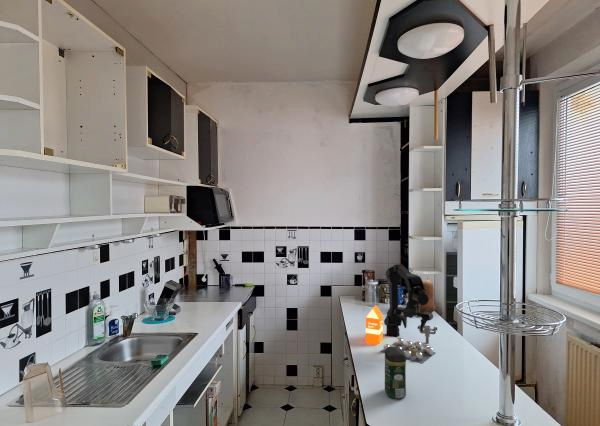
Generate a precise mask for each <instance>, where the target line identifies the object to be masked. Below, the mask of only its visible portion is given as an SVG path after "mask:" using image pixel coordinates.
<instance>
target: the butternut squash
mask: <svg viewBox="0 0 600 426" xmlns="http://www.w3.org/2000/svg"><path fill="white" fill-rule="evenodd" d="M422 282H423V284H424V286H425V287H424V288H425V290H424V291H425V294H426V295H427V296H428V298H429V300H428V303H427V304H426V305H420V304H419V309H420V312H419V313H424V312H430V313H432V314H433V313H434V311H435V310H436V303H435V299H434V293H435V292H434V284H433V282H432V280H430V279H422Z"/></svg>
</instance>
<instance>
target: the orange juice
mask: <svg viewBox="0 0 600 426" xmlns="http://www.w3.org/2000/svg"><path fill="white" fill-rule="evenodd" d="M383 315H384V314H382V311H380V309H379V307H378V306H377V305H375V306H374V307H373V308H371V310H370V311H369V312H368V314H367V316H365V344H366V343H367V345H372V344H374V346H377V345H380V344H381V342H382V341H383V338H384V333H383V331H384V329H383V328H384V317H383Z"/></svg>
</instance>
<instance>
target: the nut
mask: <svg viewBox="0 0 600 426" xmlns="http://www.w3.org/2000/svg"><path fill="white" fill-rule="evenodd" d="M415 347H416V346H412V347H409V351H411V355H416V352H418V348H415Z"/></svg>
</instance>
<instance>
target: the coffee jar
mask: <svg viewBox="0 0 600 426" xmlns="http://www.w3.org/2000/svg"><path fill="white" fill-rule="evenodd" d="M406 364H407V360H406V355H405V353H404V352H403V351H402V350H401V349H400V348H398V347H388V348H386V349H385V353H384V391H385V394H386V395H387V397H389V398H391V399H395V400H396V399H397V400H401V399H404V398H406V396H407V394H406V393H407V387H406V386H407V385H406V379H407V377H406V376H407V375H406V370H407V368H406Z"/></svg>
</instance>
